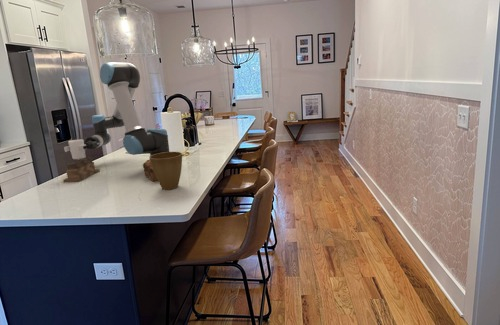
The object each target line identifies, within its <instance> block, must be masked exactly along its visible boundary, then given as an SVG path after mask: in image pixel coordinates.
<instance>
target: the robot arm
mask: <svg viewBox="0 0 500 325" xmlns="http://www.w3.org/2000/svg"><path fill="white" fill-rule="evenodd" d="M140 75H141V74H140V71H139V69H138V68H137V66H135V65H134V64H132V63H130V62H112V61H110V62H104V63H103V64H102V65H101V66H100V69H99V79H100V81H101V83H103V84H104V85H107V89H108V90H110V91H112V93H113V97H114V99H115V102H116V103H115V104H116V105H115V106H114V107H115V109H114V111H113V114H112V116H106V115H104V114H95V115H94V114H93V115H92V116H91V119H92V122H91V123H92V126H93V132H94V133H93V134H94V135H91V136H87V137H86V138H85V140H84V145H81V146H78V148H79V151H82V150H85V151H86V150H87V149H88V150H89V149H90V150H93V149H99V147H102V146H106V145H108V144H109V143H110V142H111V140H112V136H111V135H110V134H109V133H108V129H109V130H110V129H114V128H115V129H116V128H122V127H124V128H125V132H124V137H123V138H122V143H123V147H124V149H125V151H126V152H127V153H128V154H130V155H132V156H133V155H134V156H135V155H141V154H145V153H149V157H150V156H151V155H154V154H158V153H163V152H170V145H169V144H170V143H169V135H168V131H167V129H165V128H147V129H146V128H145V127H144V126H142V125H141V122H140V119H139V116H138V113H137V110H136V108H135V104H134V102H133V97H134V94H135V91H136V89H138V88H139V85H140V82H141V76H140ZM63 149H64V152H65V153H67V152H69V151H70V148H69V144H67V145H66V146H63ZM148 160H150V158H149V159H148Z"/></svg>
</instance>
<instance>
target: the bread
mask: <svg viewBox="0 0 500 325" xmlns="http://www.w3.org/2000/svg"><path fill="white" fill-rule="evenodd" d="M142 168H143V172H144V176H145V177H146V178H147V179H149V181H151V182H154V183H155V182H158V180H157V178H156V176H155V173H154V171H153V168H152V165H151V162H150V160H149V159H147V160H146V161H145V162H143V163H142Z"/></svg>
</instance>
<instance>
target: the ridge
mask: <svg viewBox="0 0 500 325" xmlns="http://www.w3.org/2000/svg"><path fill="white" fill-rule="evenodd" d="M66 168H67V169H66V170H65V171H66V172H65V173H66V176H67V177H66V178H64V179H62V182H63V183H79V182H80V183H81V182H82V181H84V180H85V179H88V178H90V177H92V176H94V175H95V174H98V173H100V168H96V166H95V162H94V161H93V158H92V156H91V157H89V156H88V157H87V156H86V157H85V158H81V159H76V161H72V162H69V163H67V164H66Z"/></svg>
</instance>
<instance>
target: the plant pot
mask: <svg viewBox="0 0 500 325" xmlns="http://www.w3.org/2000/svg"><path fill="white" fill-rule="evenodd" d="M149 159H150V162H151V165H152V168H153V171H154V173H155V176H156V178H157V180H158V181H157V182H158V184H159V186H160V187H161V189H162V190H165V191H169V190H174V189H178V187H179V183H180V179H181V173H182V165H183V153H182V152H180V151H169V152H163V153H158V154H154V155H151V156H150V155H149Z"/></svg>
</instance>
